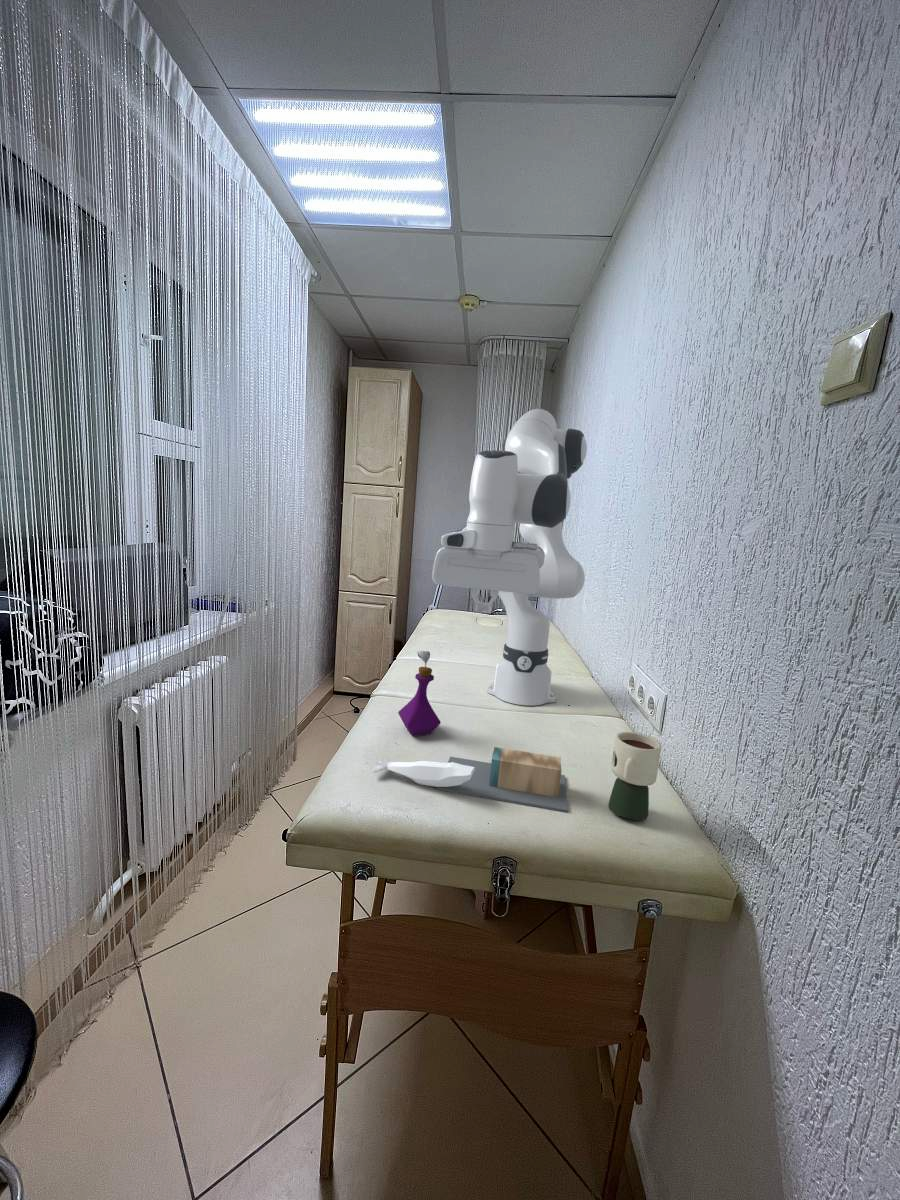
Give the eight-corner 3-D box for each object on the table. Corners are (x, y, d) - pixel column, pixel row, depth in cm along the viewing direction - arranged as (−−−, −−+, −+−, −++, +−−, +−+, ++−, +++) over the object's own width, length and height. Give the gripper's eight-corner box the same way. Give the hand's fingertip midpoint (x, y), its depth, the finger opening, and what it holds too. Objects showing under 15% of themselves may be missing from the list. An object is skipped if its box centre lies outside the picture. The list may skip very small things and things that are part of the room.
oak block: (494, 747, 92) (560, 757, 90) (491, 772, 93) (557, 783, 91) (491, 759, 87) (561, 770, 85) (489, 785, 88) (558, 797, 86)
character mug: (614, 792, 90) (624, 724, 88) (656, 807, 86) (667, 736, 84) (596, 819, 81) (607, 744, 79) (642, 837, 77) (654, 758, 75)
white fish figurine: (469, 797, 82) (468, 775, 82) (371, 782, 88) (370, 761, 87) (478, 782, 87) (477, 760, 87) (385, 768, 93) (384, 748, 93)
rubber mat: (450, 758, 98) (450, 756, 98) (564, 777, 94) (564, 775, 94) (437, 789, 86) (437, 787, 86) (567, 812, 82) (567, 810, 82)
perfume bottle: (440, 737, 107) (446, 656, 104) (406, 740, 104) (412, 657, 101) (428, 723, 114) (434, 646, 111) (396, 725, 111) (402, 647, 108)
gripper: (545, 543, 94) (537, 615, 97) (439, 534, 97) (434, 603, 100) (546, 545, 88) (537, 622, 91) (432, 536, 91) (427, 609, 94)
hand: (482, 612), depth 95 cm, fingers closed
